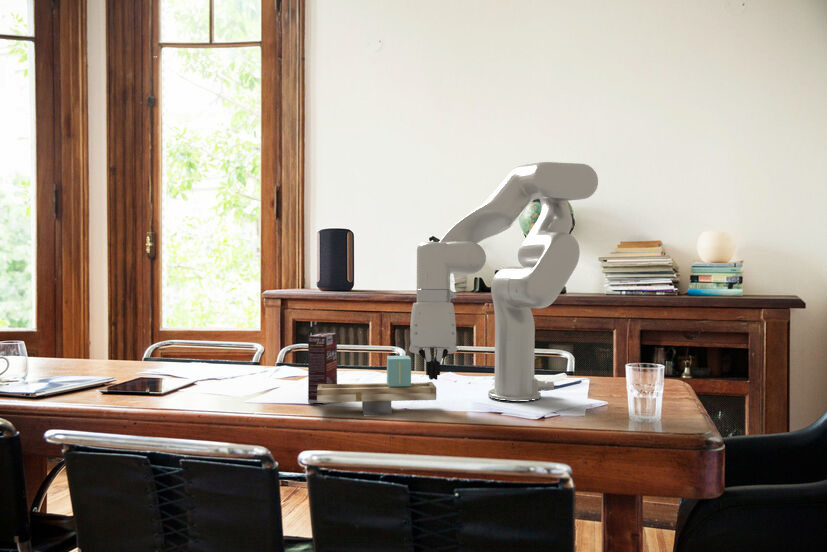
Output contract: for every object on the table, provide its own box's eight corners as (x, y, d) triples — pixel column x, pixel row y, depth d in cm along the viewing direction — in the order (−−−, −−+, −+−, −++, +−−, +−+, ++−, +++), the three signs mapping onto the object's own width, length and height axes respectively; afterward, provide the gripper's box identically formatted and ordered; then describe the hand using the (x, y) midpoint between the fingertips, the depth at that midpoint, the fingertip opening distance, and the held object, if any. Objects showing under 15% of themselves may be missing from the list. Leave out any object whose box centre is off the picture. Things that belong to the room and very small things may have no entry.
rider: (408, 388, 159) (408, 355, 159) (411, 392, 154) (411, 359, 154) (386, 388, 159) (386, 355, 158) (388, 392, 154) (388, 359, 153)
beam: (431, 405, 162) (431, 381, 162) (436, 414, 153) (437, 388, 153) (318, 408, 159) (318, 383, 159) (317, 417, 150) (316, 390, 150)
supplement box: (327, 404, 163) (326, 336, 163) (307, 403, 164) (306, 336, 164) (338, 397, 171) (337, 332, 171) (319, 396, 172) (318, 332, 172)
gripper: (463, 296, 161) (462, 375, 162) (398, 296, 160) (398, 376, 160) (469, 298, 154) (468, 381, 154) (401, 298, 152) (401, 382, 153)
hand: (432, 378), depth 157 cm, fingers closed
